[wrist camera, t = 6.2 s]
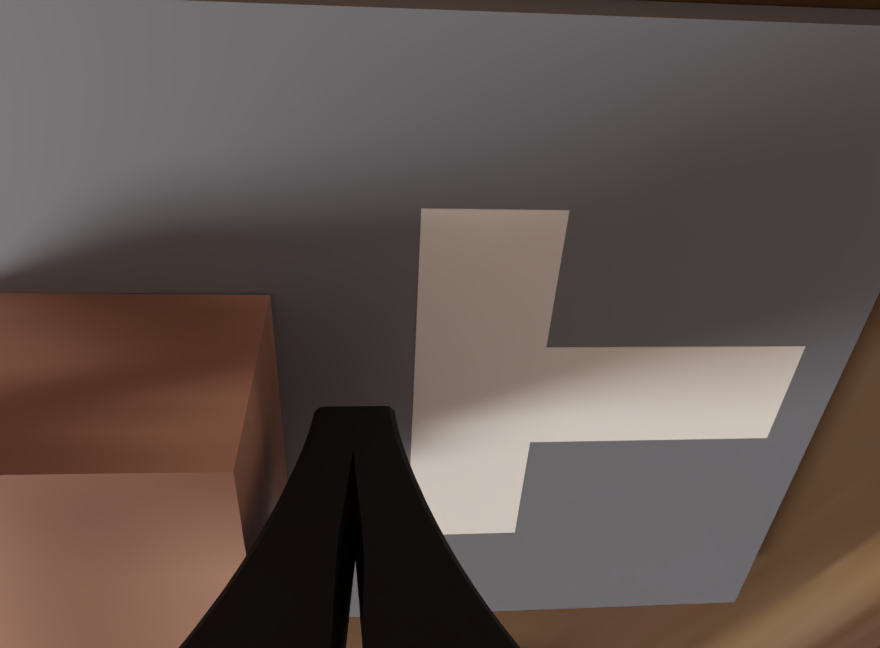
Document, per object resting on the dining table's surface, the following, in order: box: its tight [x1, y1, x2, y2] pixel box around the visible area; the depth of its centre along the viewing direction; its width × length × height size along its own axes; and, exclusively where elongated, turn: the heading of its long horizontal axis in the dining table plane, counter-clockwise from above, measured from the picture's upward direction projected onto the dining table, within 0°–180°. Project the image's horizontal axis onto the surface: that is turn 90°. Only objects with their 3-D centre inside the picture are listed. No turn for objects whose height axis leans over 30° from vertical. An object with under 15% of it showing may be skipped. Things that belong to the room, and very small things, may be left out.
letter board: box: [0, 0, 880, 617], centre depth 15 cm, size 18×14×1 cm
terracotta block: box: [0, 293, 288, 648], centre depth 12 cm, size 5×5×4 cm
